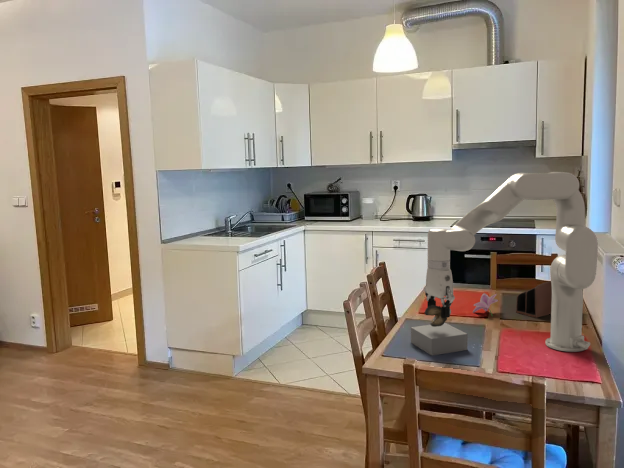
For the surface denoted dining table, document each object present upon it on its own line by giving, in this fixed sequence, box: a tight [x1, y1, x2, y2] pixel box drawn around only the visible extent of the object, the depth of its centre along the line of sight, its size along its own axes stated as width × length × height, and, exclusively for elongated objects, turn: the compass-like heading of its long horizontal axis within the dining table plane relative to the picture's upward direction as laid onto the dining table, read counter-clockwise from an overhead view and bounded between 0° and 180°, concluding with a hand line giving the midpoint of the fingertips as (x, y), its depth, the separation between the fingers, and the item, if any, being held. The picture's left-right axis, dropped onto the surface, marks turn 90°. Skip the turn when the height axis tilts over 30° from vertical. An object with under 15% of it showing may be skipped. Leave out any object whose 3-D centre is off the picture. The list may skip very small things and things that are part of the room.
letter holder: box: [515, 280, 552, 319], centre depth 218 cm, size 10×20×14 cm, turn 119°
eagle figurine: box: [424, 305, 452, 327], centre depth 178 cm, size 8×7×9 cm
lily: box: [472, 292, 499, 317], centre depth 217 cm, size 12×12×10 cm
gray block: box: [410, 322, 469, 356], centre depth 181 cm, size 14×14×6 cm
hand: (438, 314), depth 180 cm, fingers closed on eagle figurine, 7 cm apart
